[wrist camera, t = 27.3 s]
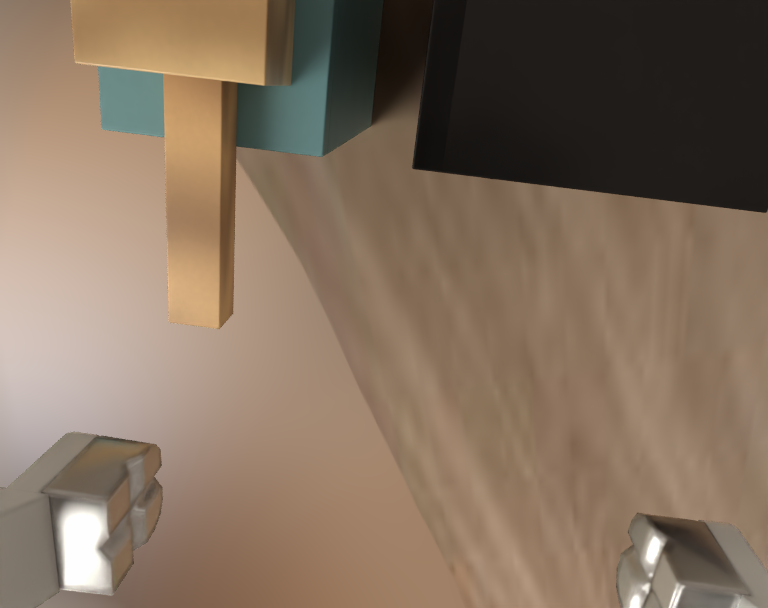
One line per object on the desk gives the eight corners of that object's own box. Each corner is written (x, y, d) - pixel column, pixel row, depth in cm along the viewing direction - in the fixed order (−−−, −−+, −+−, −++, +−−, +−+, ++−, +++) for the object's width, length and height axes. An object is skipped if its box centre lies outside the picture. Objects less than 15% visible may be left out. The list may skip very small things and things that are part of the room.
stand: (370, 126, 46) (322, 157, 26) (246, 111, 47) (100, 129, 26) (388, -47, 42) (347, -175, 22) (251, -63, 42) (82, -204, 22)
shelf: (588, 146, 46) (767, 213, 21) (422, 126, 46) (412, 168, 22) (624, -12, 42) (892, -151, 17) (442, -33, 42) (458, -197, 18)
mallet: (125, -54, 24) (63, -82, 20) (297, -35, 23) (270, -59, 19) (139, 301, 29) (93, 335, 25) (279, 319, 29) (255, 356, 25)
